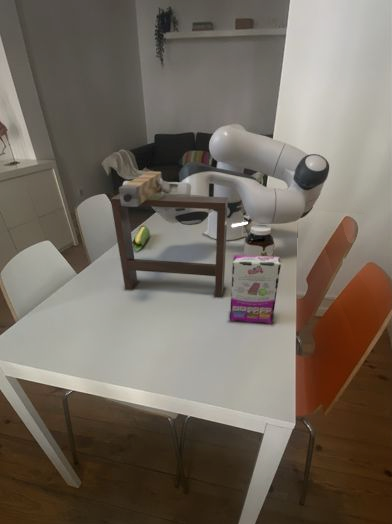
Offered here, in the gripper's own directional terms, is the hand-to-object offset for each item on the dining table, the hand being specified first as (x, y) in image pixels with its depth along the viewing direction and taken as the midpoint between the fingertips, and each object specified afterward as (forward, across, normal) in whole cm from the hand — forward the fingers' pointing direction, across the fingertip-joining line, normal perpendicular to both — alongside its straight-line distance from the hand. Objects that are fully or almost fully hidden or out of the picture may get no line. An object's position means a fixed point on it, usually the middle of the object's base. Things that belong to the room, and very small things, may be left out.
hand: (149, 181), depth 87 cm
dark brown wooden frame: (-9, +7, +28) cm, 30 cm away
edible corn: (-41, -16, +10) cm, 45 cm away
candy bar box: (+2, +31, +35) cm, 47 cm away
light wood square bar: (+4, 0, +5) cm, 6 cm away
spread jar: (-33, +32, +14) cm, 48 cm away
